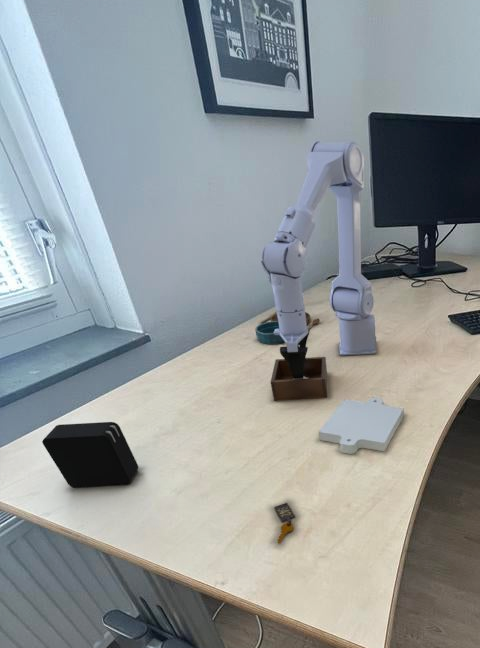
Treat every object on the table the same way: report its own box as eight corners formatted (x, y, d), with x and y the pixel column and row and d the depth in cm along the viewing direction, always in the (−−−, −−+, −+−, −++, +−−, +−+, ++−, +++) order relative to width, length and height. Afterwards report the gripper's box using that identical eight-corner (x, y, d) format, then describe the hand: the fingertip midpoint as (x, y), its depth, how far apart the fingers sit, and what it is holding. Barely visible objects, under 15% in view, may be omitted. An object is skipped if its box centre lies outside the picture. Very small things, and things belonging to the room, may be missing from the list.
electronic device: (81, 473, 76) (53, 424, 69) (140, 469, 76) (117, 421, 70) (70, 488, 73) (39, 439, 66) (131, 484, 73) (106, 435, 67)
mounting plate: (380, 459, 78) (379, 450, 76) (314, 447, 81) (313, 438, 80) (406, 410, 91) (407, 402, 90) (349, 401, 94) (348, 393, 93)
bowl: (294, 330, 127) (292, 320, 125) (292, 343, 119) (290, 333, 117) (259, 332, 126) (257, 322, 124) (255, 345, 119) (253, 334, 117)
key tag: (274, 505, 68) (273, 502, 68) (293, 502, 69) (292, 499, 69) (277, 543, 62) (276, 540, 62) (298, 539, 63) (297, 536, 62)
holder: (327, 374, 104) (325, 356, 102) (327, 397, 96) (325, 378, 93) (278, 377, 104) (275, 359, 101) (274, 400, 95) (270, 382, 92)
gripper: (274, 298, 94) (284, 357, 102) (266, 321, 83) (278, 386, 91) (306, 296, 94) (314, 356, 103) (303, 319, 83) (312, 384, 92)
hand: (299, 370), depth 97 cm, fingers open, 7 cm apart
